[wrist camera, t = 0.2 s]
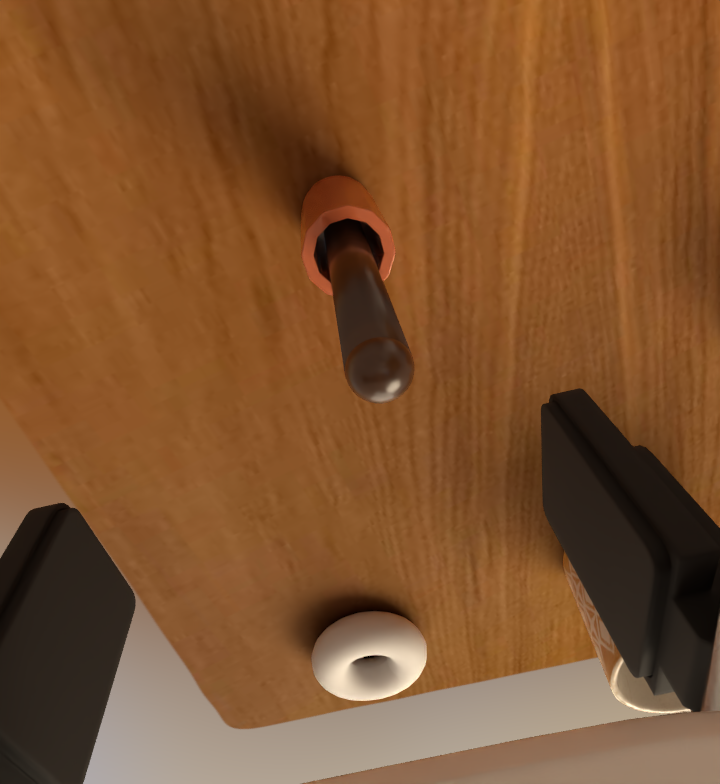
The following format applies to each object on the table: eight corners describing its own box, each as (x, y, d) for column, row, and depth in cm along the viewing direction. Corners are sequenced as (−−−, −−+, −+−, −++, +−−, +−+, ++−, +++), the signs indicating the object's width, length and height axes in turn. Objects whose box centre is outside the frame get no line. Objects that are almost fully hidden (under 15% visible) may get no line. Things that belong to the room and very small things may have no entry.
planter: (547, 502, 41) (616, 624, 32) (712, 465, 40) (828, 578, 32) (549, 604, 47) (607, 728, 38) (690, 573, 47) (781, 692, 38)
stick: (314, 218, 27) (331, 389, 13) (338, 191, 27) (385, 339, 12) (339, 242, 28) (383, 428, 14) (363, 216, 27) (435, 383, 13)
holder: (286, 215, 28) (283, 257, 22) (336, 158, 27) (347, 185, 21) (339, 264, 29) (350, 314, 23) (389, 211, 28) (413, 251, 22)
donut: (313, 602, 44) (307, 674, 49) (315, 639, 41) (308, 713, 46) (431, 599, 46) (414, 670, 51) (440, 636, 43) (421, 707, 48)
